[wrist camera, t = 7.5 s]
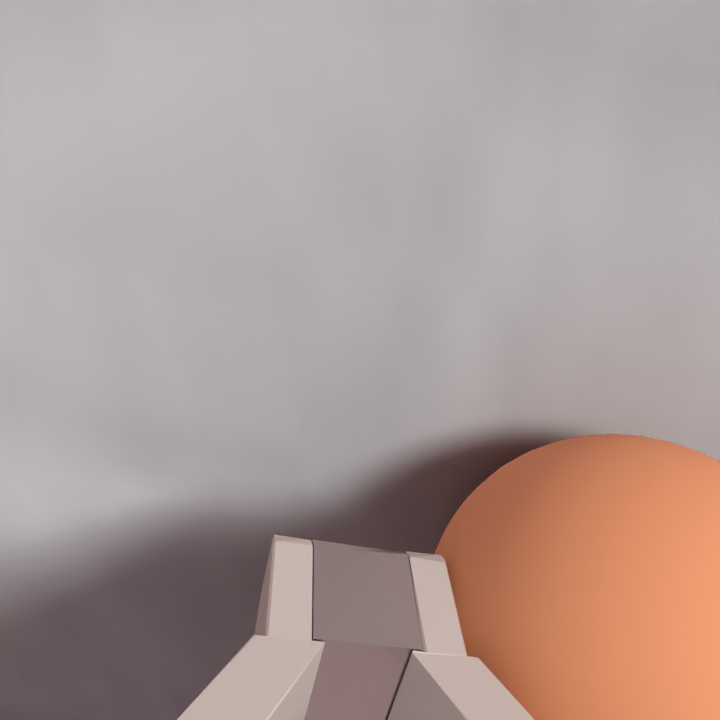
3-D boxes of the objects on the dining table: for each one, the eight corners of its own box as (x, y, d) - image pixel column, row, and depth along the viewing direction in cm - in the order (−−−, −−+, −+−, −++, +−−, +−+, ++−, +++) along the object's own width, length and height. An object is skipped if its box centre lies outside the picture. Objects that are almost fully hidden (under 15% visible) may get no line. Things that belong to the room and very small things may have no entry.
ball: (607, 332, 12) (1007, 523, 8) (525, 563, 14) (802, 777, 11) (370, 435, 8) (896, 836, 5) (323, 713, 11) (636, 1092, 8)
